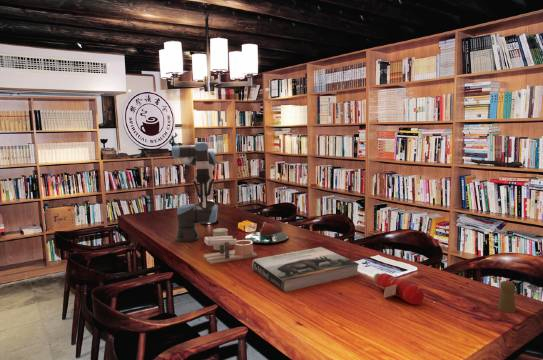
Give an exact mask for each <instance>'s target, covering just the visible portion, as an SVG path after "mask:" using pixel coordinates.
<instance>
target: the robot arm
mask: <svg viewBox="0 0 543 360" xmlns="http://www.w3.org/2000/svg"><path fill="white" fill-rule="evenodd" d="M171 157H172V158H173V159H178V160H179V161H180V163H182V164H183V165H186V166H190V167H195V168H196V169H195V174H196V176H195V178H194V180H191V181H192V182H191V183H192V184H193V185H194V189H195V192H196V195H197V196H198V197H199V198H200V200H199V202H198V204H197V205H195V204H194V203H187V204H186V203H185V204H183V205H180V206H178V207H177V209H176V210H177V211H176V215H177V232H176V236H175V241H176V242H178V243H179V242H180V243H189V242H190V243H191V242H195V241H197V240H199V238H200V235H199V232H198V230H197V227H196V224H211V223H212V224H213V223H215V222H217V219H218V210H219V209H218V205H217V204H216V202H215V200H214V189H213V188H214V186H213V183H214V182H215V179H214V178H213V169H215V166H217V161H216V154H215V150H214V149H209V144H208V142H206V141H201V142H199V141H198V142H195V144H194V145H193V144H191V145H173V146H172V147H171ZM197 182H198V183H199V187H198V183H197Z"/></svg>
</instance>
